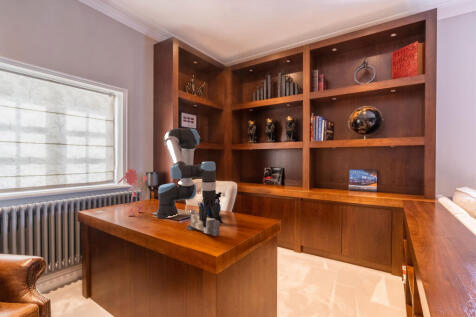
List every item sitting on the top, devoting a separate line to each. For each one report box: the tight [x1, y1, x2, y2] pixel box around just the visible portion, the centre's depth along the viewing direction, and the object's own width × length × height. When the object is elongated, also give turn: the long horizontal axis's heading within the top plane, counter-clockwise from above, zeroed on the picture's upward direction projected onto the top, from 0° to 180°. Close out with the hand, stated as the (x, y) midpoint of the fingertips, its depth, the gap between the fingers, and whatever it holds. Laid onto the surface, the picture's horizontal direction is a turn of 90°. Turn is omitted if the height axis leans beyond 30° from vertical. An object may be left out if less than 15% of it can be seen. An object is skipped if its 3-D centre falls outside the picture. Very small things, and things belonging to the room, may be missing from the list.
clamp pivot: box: [186, 209, 197, 231], centre depth 141 cm, size 5×5×11 cm
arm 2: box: [194, 213, 221, 236], centre depth 132 cm, size 22×2×7 cm, turn 44°
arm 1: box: [192, 215, 218, 237], centre depth 131 cm, size 22×2×7 cm, turn 44°
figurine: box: [117, 168, 150, 217], centre depth 178 cm, size 15×26×35 cm, turn 161°
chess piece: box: [207, 191, 224, 224], centre depth 151 cm, size 8×8×20 cm
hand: (209, 231), depth 128 cm, fingers open, 5 cm apart
